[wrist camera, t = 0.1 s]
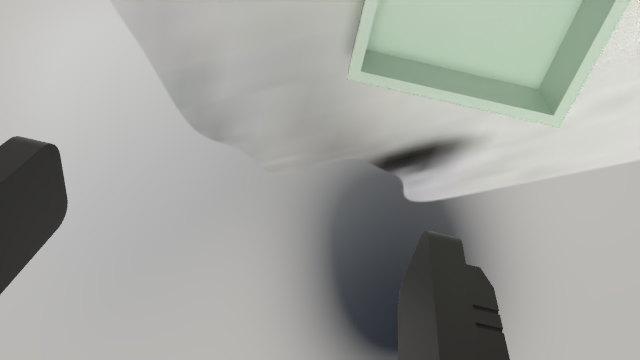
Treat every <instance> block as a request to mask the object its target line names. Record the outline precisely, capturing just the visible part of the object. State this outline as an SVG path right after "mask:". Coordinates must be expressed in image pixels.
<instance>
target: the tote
mask: <svg viewBox="0 0 640 360" xmlns="http://www.w3.org/2000/svg"><path fill="white" fill-rule="evenodd" d="M629 2H630V0H365V1H364V5H363V10H362V14H361V18H360V22H359V27H358V31H357V35H356V39H355V44H354V48H353V52H352V57H351V62H350V67H349V72H348V77H347V79H348V80H352V81H357V82H361V83H365V84H370V85H374V86H378V87H383V88H387V89H392V90H396V91H400V92H405V93H409V94H413V95H418V96H422V97H427V98H431V99H435V100H440V101H444V102H448V103H453V104H457V105H462V106H466V107H470V108H475V109H479V110H483V111H488V112H492V113H497V114H501V115H505V116H510V117H514V118H519V119H523V120H527V121H532V122H536V123H540V124H545V125H549V126H554V127H558V128H559V127H560V126H561V124H562V122H563V120H564V118H565V117H566V115H567V113H568V111H569V109H570V108H571V106H572V104H573V102H574V100H575V99H576V97H577V95H578V93H579V91H580V90H581V88H582V86H583V84H584V83H585V81H586V79H587V77H588V75H589V74H590V72H591V70H592V68H593V66H594V65H595V63H596V61H597V59H598V57H599V56H600V54H601V52H602V50H603V48H604V47H605V45H606V43H607V41H608V40H609V38H610V36H611V34H612V32H613V31H614V29H615V27H616V25H617V23H618V22H619V20H620V18H621V16H622V14H623V13H624V11H625V9H626V7H627V5H628V4H629Z"/></svg>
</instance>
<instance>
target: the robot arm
mask: <svg viewBox="0 0 640 360" xmlns="http://www.w3.org/2000/svg"><path fill="white" fill-rule="evenodd" d="M66 210H67V194H66V188H65V182H64V176H63V170H62V164H61V158H60V153H59V150H58V148H57V147H56V146H55V145H53V144H50V143H45V142H41V141H37V140H32V139H27V138H24V137H19V136H16V137H12V138H11V139H9V140H8V141H6V142H5V143H4V144H2V145H1V146H0V294H1V293H2V292H3V291H4V290H5V288H6V287H7V286H8V285H9V284H10V283H11V281H12V280H13V279H14V278H15V277H16V276H17V274H18V273H19V272H20V271H21V270H22V269H23V268H24V267H25V265H26V264H27V263H28V262H29V261H30V260H31V259H32V257H33V256H34V255H35V254H36V253H37V252H38V251H39V249H40V248H41V247H42V246H43V245H44V244H45V243H46V241H47V240H48V239H49V238H50V237H51V236H52V235H53V233H54V232H55V231H56V230H57V229H58V228H59V226H60V224H61V223H62V221H63V219H64V217H65V214H66ZM498 311H499V309H498V305H497V300H496V296H495V292H494V288H493V286H492V285H491V284H490V282H489V280H488V279H487V277H486V276H485V274H484V273H483V271H482V270H481V268H479V267H475V266H471V265H467V264H466V263H465V257H464V251H463V245H462V241H461V239H460V238H457V237H452V236H448V235H444V234H439V233H435V232H431V231H424V232H423V234H422V235H421V238H420V240H419V242H418V244H417V246H416V249H415V251H414V254H413V256H412V258H411V261H410V263H409V265H408V268H407V270H406V273H405V275H404V277H403V280H402V283H401V287H400V292H399V298H398V360H510V359H509V354H508V350H507V345H506V341H505V336H504V333H502V329H503V327H502V323H501V318H500V315H498Z"/></svg>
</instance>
